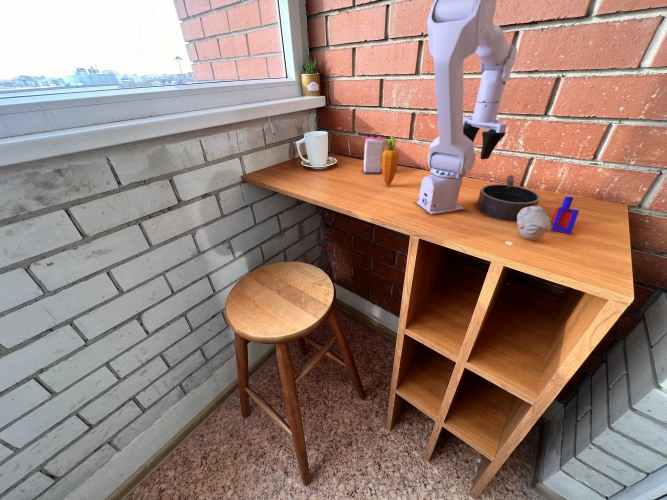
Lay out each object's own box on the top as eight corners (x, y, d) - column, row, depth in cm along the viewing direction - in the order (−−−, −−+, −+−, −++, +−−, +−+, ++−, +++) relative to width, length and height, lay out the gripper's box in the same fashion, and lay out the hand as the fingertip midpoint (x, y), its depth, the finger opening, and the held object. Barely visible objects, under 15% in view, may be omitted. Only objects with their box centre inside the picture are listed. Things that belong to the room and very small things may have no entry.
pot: (502, 224, 67) (508, 206, 65) (465, 203, 78) (469, 187, 76) (546, 216, 70) (553, 199, 68) (505, 197, 81) (510, 182, 79)
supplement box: (380, 173, 101) (383, 140, 95) (364, 174, 102) (365, 140, 95) (378, 169, 106) (381, 136, 100) (363, 169, 107) (364, 137, 100)
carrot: (388, 190, 88) (393, 139, 80) (376, 186, 91) (379, 136, 83) (398, 186, 91) (404, 136, 82) (386, 182, 94) (390, 134, 86)
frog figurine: (529, 229, 65) (540, 200, 61) (552, 244, 59) (566, 214, 56) (504, 231, 65) (514, 202, 61) (525, 247, 59) (537, 216, 55)
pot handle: (511, 191, 76) (513, 186, 75) (505, 190, 77) (507, 185, 76) (512, 180, 84) (514, 174, 83) (506, 179, 85) (508, 174, 84)
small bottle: (566, 234, 66) (578, 200, 65) (570, 233, 62) (584, 197, 61) (548, 230, 68) (559, 197, 66) (551, 229, 64) (564, 194, 63)
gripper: (523, 103, 68) (506, 160, 76) (481, 98, 80) (470, 148, 88) (499, 105, 67) (483, 163, 74) (460, 100, 79) (450, 150, 86)
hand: (475, 155), depth 81 cm, fingers open, 7 cm apart
